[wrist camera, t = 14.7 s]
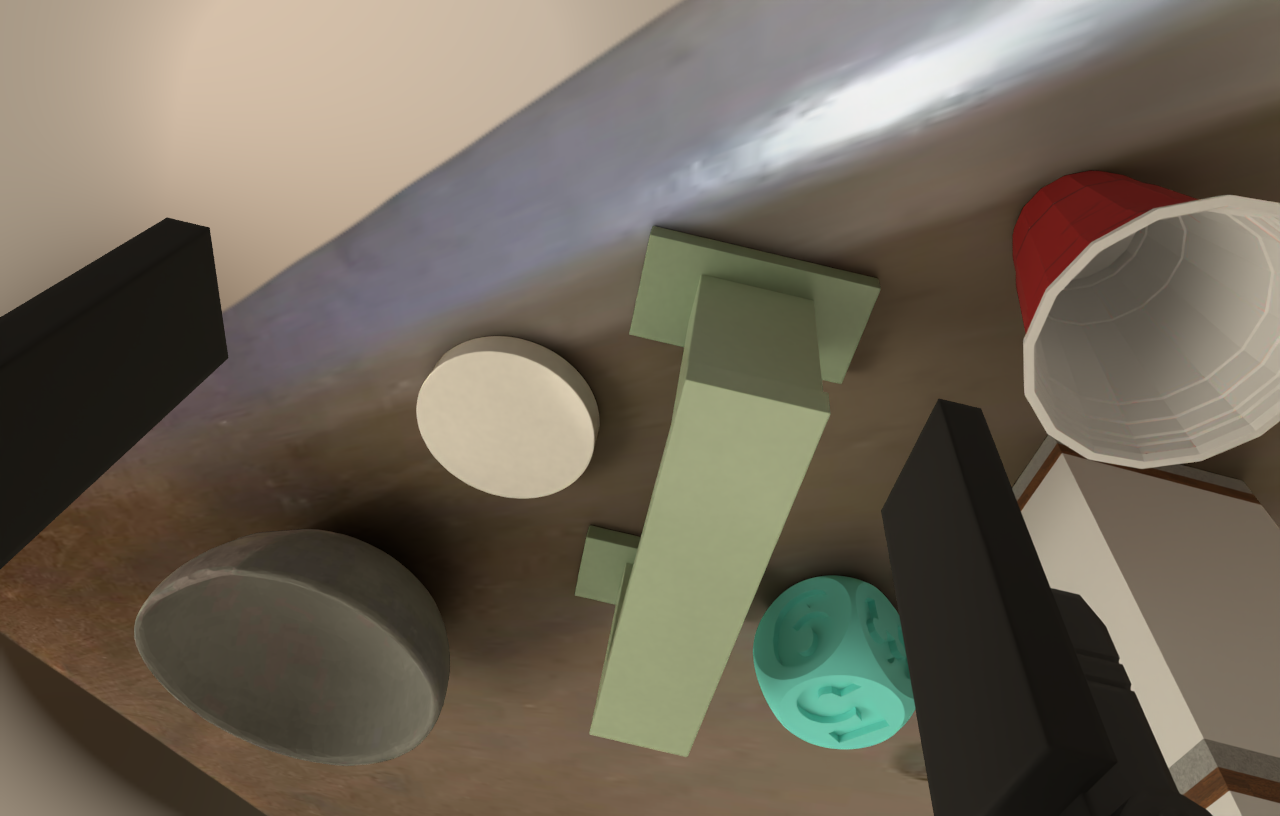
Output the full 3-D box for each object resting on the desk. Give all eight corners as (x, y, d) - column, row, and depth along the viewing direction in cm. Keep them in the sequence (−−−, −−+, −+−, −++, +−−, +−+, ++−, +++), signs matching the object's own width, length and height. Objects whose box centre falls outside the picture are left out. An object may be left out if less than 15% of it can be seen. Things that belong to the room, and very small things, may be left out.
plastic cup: (1264, 160, 35) (1456, 275, 25) (1104, 352, 41) (1208, 504, 32) (1047, 69, 34) (1158, 153, 24) (916, 279, 40) (964, 413, 31)
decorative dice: (818, 663, 59) (824, 764, 52) (752, 602, 56) (749, 700, 49) (914, 624, 55) (934, 727, 48) (848, 556, 52) (860, 656, 46)
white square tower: (965, 557, 51) (1218, 1449, 22) (1050, 430, 44) (1553, 1444, 16) (1134, 600, 51) (1599, 1540, 22) (1243, 481, 45) (2075, 1568, 16)
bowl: (351, 684, 68) (295, 795, 60) (166, 527, 60) (71, 633, 51) (532, 623, 60) (496, 742, 52) (350, 431, 52) (271, 538, 43)
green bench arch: (652, 225, 41) (616, 341, 31) (878, 278, 41) (913, 410, 31) (577, 582, 57) (538, 732, 47) (738, 620, 57) (732, 777, 47)
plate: (428, 317, 46) (417, 332, 44) (612, 359, 46) (607, 375, 44) (424, 459, 52) (414, 477, 51) (586, 496, 52) (581, 515, 51)
